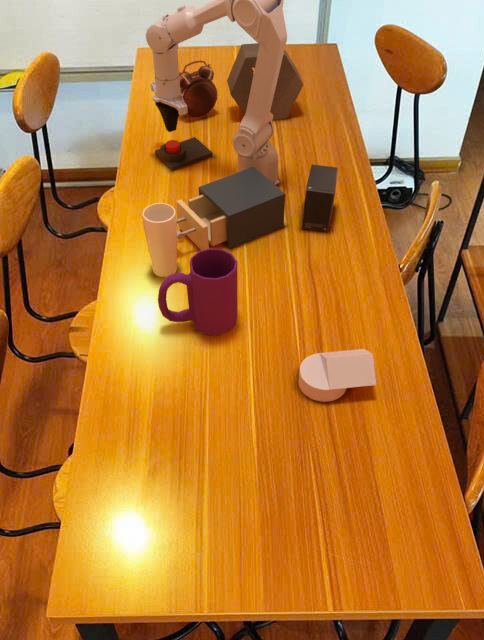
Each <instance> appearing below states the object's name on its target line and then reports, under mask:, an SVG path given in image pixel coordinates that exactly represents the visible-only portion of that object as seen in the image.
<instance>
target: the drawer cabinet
mask: <svg viewBox="0 0 484 640" xmlns="http://www.w3.org/2000/svg"><path fill="white" fill-rule="evenodd" d="M202 194H203V195H204V196H205V197H206V198H207V199H208V200H209V201H210V202H211V203H212V204H213V205H215V206H216V207H217V208H218V209H219V210H220V211H221V212H222V213H223V214H224V215H225V216H226V217H227V241H224V242H222V243H223V244H224V245H225V246H226V248H228V249H229V250H230V249H233V248H234V247H237V246H239V245H242V244H244V243H247V242H249V241H252V240H254V239H256V238H259V237H262V236H264V235H267V234H269V233H271V232H273V231H276V230H279V229H281V228H283V227H284V225H285V208H286V192H284V191H283V190H282V189H281V188H280V187H278V186H277V184H276V185H275V184H274V183H272V182H271V181H270V180H269V179H268V178H266V177H265V176H264V175H263V174H262V173H260V172H259V171H258V170H257V169H256V168H255V167H251V168H248V169H246V170H243V171H240V172H238V171H237V172H234V173H231V174H230V175H227V176H224V177H221V178H219V179H216V180H213V181H211V182H207V183H205V184H203V185H199V186H198V196H200V195H202Z"/></svg>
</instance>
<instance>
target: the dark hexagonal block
mask: <svg viewBox="0 0 484 640" xmlns="http://www.w3.org/2000/svg"><path fill="white" fill-rule="evenodd" d="M258 50H259V43H257V42H255V43H254V42H253V43H243V44H241V45H240V47H239V50H238V52H237V54H236V58H235V60H234V62H233V64H232V66H231V70H230V72H229V74H228V77H227V79H226V82H227V87H228V91H229V94H230V96H231V98H232V99H233V100H234V102H235V103H236V105H237V107H238V108H239V109H240V110H241V112H242V113H243V115H245V114H246V110H247V105H248V100H249V95H250V90H251V85H252V80H253V75H254V70H255V65H256V60H257V55H258ZM303 87H304V82H303V79H302V77H301V75H300V72H299V70H298V68H297V67H296V65H295V63H294V62H293V60H292V58H291V57H290V55H289V54H288V52H287V50H286V49H285V50H284V54H283V58H282V63H281V67H280V71H279V75H278V80H277V84H276V88H275V93H274V97H273V101H272V105H271V110H270V112H271V113H272V114H273V120H272V121H280V120H281V121H282V120H287V119H288V118H289V116H290V114H291V111H292V109H293V108H294V105H295V103H296V101H297V99H298V97H299V95H300V93H301V91H302V88H303Z"/></svg>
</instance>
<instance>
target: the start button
mask: <svg viewBox="0 0 484 640" xmlns="http://www.w3.org/2000/svg"><path fill="white" fill-rule="evenodd" d="M179 142H180V141H178V140H176V139H170V140H167V141H166V142H165V143H166V144H165V143H164V144H165V145H166V152H168V153H177V152H179V151H180V143H179Z"/></svg>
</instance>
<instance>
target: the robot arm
mask: <svg viewBox="0 0 484 640" xmlns="http://www.w3.org/2000/svg"><path fill="white" fill-rule="evenodd" d="M284 1H285V0H212V1H210V2H208V3H207V4H205V5H203V6H200V7H199V8H197V6H194V5H186V4H183V5H180V6H179V7H177V9H176V11H175V12H173V13H172V14H169V13H166V14H164V15H163V16H162V17H161V18H159V20H157V21H156V22H154V23H153V24H151V25H150V26H149V27H148V28H147V29H146V32H145V41H146V43H147V45H148V47H149V48H150V49H151V51H152V62H153V72H154V73H153V74H154V81H151V82H150V91H152V92H153V93H154V95H152V99H151V100H152V101H153V102H154V104H155V106H156V108H157V110H158V111H159V113H160V115H161V118H162V121H163V124H164V127H165V130H166V131H167V132H168V133H171V132H174V131H176V130H177V128H178V121H179V117H180V116H184V115H185V114H187V113H188V110H187V105H186V104H185V102H184V99H183V96H182V94H181V91H180V79H179V72H180V66H179V44H181V43H184V42H185V41H187V40H189V39H191V38H194V37H197V36H198V35H200V34H201V33H202V32H203V29H204V26H205V25H207V24H209V23H212V22H214V21H216V20H217V21H218V20H220V19H221V18H225V17H227V18H228V19H229V21H230V22H231V23H234V22H235V23H237V25H238V26H239V27H240V28H241V29H242V30H243V31H245V32H246V34H247V35H248V36H250V37H251V38H252V39H253V40H254V41H255V43H259V50H258V55H257V60H256V65H255V69H253V71H254V72H253V74H254V75H253V80H252V85H251V90H250V95H249V100H248V105H247V110H246V114H244V116H243V117H242V119H241V122H240V123H239V126H238V129H237V132H236V133H235V134H234V135H233V137H232V147H233V149H234V151H235V152H236V153H237V172H240V171H243V170H246V169H248V168H251V167H255V168H256V169H257V170H258V171H259V172H260V173H262V174H263V175H264V176H265V177H266V178H268V179H269V180H270V181H271V182H272V183H274V184H275V185H276V186H277V185H279V184H280V180H278V179H279V161H280V159H279V153H278V150H277V148H276V146H275V145H274V144H273V143H271V142H269V140H270V139H271V138H272V137H273V135H274V131H275V130H274V129H275V128H274V124H273V123H274V122H273V121H274V120H273V114H272V113H271V112H270V110H271V105H272V101H273V97H274V93H275V88H276V84H277V80H278V75H279V71H280V67H281V63H282V58H283V54H284V50H286V45H287V40H288V31H287V27H286V20H285V15H284V9H283V8H284ZM187 115H188V114H187Z"/></svg>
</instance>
